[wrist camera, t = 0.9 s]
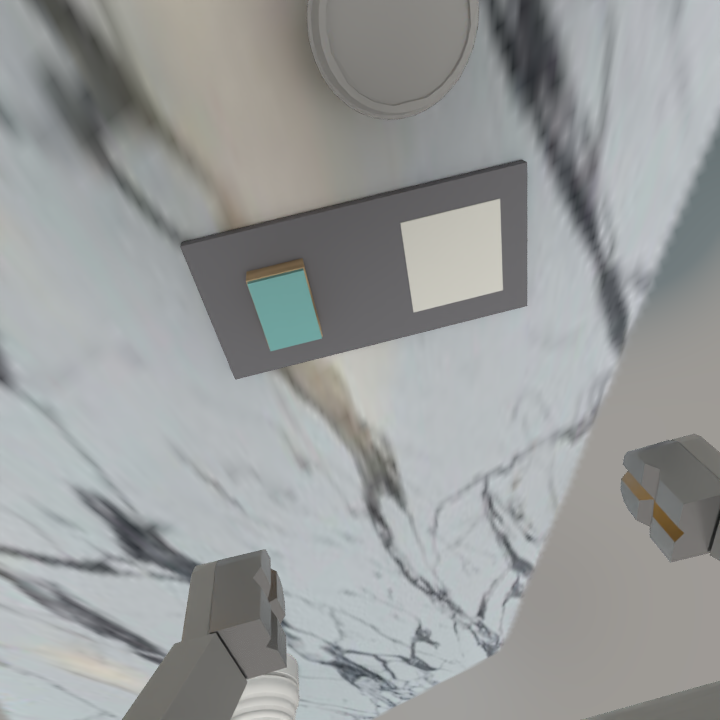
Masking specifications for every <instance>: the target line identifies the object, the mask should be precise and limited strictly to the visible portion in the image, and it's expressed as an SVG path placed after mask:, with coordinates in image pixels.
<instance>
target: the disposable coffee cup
mask: <svg viewBox="0 0 720 720" xmlns="http://www.w3.org/2000/svg"><path fill="white" fill-rule="evenodd" d="M478 16H479V4H478V0H308V6H307V26H308V35H309V42H310V46H311V49H312V53H313V56H314V60H315V62H316V64H317V67H318V69H319V71H320V73H321V75H322V77H323V79H324V80H325V82H326V83H327V85H328V86H329V87H330V89H331V90H332V91H333V92H334V94H335V95H336V96H337V97H339V98H340V99H341V100H342V101H343V102H344V103H345V104H346V105H348V106H349V107H351V108H353V109H354V110H356V111H358V112H359V113H362V114H365V115H367V116H370V117H373V118H378V119H388V120H392V119H402V118H406V117H410V116H414V115H416V114H419V113H421V112H423V111H425V110H427V109H428V108H430V107H431V106H433V105H435V104H436V103H437V102H438V101H440V100H441V99H442V98H443V97H444V96H445V95H446V94H447V93H448V92H449V91H450V90H451V89H452V87H453V86H454V85H455V83H456V82H457V81H458V79H459V78H460V76H461V74H462V72H463V71H464V69H465V67H466V65H467V63H468V60H469V58H470V55H471V52H472V50H473V47H474V42H475V38H476V33H477V29H478Z"/></svg>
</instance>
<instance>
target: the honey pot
mask: <svg viewBox="0 0 720 720" xmlns="http://www.w3.org/2000/svg"><path fill="white" fill-rule="evenodd" d="M286 655H287V668H283V669H280V670H277V671H274V672H270V673H267V674H264V675H261V676H257V677H254V678H251V679H247V682H248V683H247V685H246V687H245V689H244V691H243V694H242V696H241V698H240V700H239V702H238V704H237V707H236V709H235V711H234V713H233V715H232V718H231V720H294V719H295V715H296V709H297V707H298V704H299V697H300V696H299V678H298V664H297V661H296V659H295V658H294V657H293V656H292V655H290V654H288V653H286Z"/></svg>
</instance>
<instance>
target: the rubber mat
mask: <svg viewBox="0 0 720 720" xmlns="http://www.w3.org/2000/svg"><path fill="white" fill-rule="evenodd" d="M180 247H181V250H182V252H183V254H184V257H185V259H186V262H187V264H188V266H189V269H190V271H191V274H192V276H193V279H194V281H195V283H196V286H197V288H198V291H199V293H200V295H201V298H202V300H203V303H204V305H205V307H206V310H207V312H208V315H209V317H210V320H211V322H212V324H213V327H214V329H215V332H216V334H217V336H218V339H219V341H220V344H221V346H222V349H223V351H224V353H225V356H226V358H227V361H228V363H229V365H230V368H231V370H232V373H233V375H234V378H235V379H239V378H243V377H247V376H251V375H255V374H259V373H263V372H267V371H271V370H275V369H279V368H283V367H287V366H291V365H295V364H299V363H303V362H307V361H311V360H315V359H319V358H323V357H326V356H330V355H334V354H338V353H342V352H346V351H350V350H354V349H358V348H362V347H366V346H370V345H374V344H378V343H382V342H386V341H390V340H394V339H398V338H402V337H406V336H410V335H414V334H418V333H422V332H426V331H430V330H434V329H437V328H441V327H445V326H449V325H453V324H457V323H461V322H465V321H469V320H473V319H477V318H481V317H485V316H489V315H493V314H497V313H501V312H505V311H509V310H513V309H517V308H521V307H525V306H527V162H525V161H523V160H520V161H516V162H512V163H507V164H503V165H499V166H495V167H491V168H487V169H483V170H479V171H474V172H470V173H466V174H462V175H458V176H454V177H450V178H446V179H441V180H437V181H433V182H429V183H425V184H421V185H417V186H413V187H408V188H404V189H400V190H396V191H392V192H388V193H384V194H380V195H376V196H371V197H367V198H363V199H359V200H355V201H351V202H347V203H343V204H338V205H334V206H330V207H326V208H322V209H318V210H314V211H310V212H305V213H301V214H297V215H293V216H289V217H285V218H281V219H277V220H272V221H268V222H264V223H260V224H256V225H252V226H248V227H244V228H239V229H235V230H231V231H227V232H223V233H219V234H215V235H211V236H207V237H202V238H198V239H194V240H190V241H186V242H182V243H181V246H180ZM301 258H302V259H303V262H304V266H305V270H306V273H307V277H308V281H309V285H310V288H311V292H312V296H313V299H314V303H315V307H316V310H317V314H318V318H319V321H320V325H321V330H322V334H323V336H322V339H318V340H314V341H310V342H306V343H302V344H298V345H294V346H290V347H286V348H282V349H278V350H274V351H270V349H269V346H268V343H267V340H266V337H265V334H264V332H263V329H262V326H261V323H260V320H259V317H258V314H257V312H256V309H255V306H254V303H253V300H252V297H251V294H250V292H249V289H248V286H247V283H246V272H248V271H252V270H256V269H260V268H264V267H268V266H272V265H276V264H281V263H285V262H289V261H293V260H297V259H301Z"/></svg>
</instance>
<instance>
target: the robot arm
mask: <svg viewBox="0 0 720 720" xmlns="http://www.w3.org/2000/svg"><path fill="white" fill-rule="evenodd" d="M623 465H624V466H625V467H626V469H627V470H628V471H627V473H626V474H625V475H624V476H623V478H622V479H621V493H622V496H623V499H624V502H625V504H626V506H627V508H628V510H629V511H630V512H631V514H632V515H633V516H634V518H635V519H636V520H637V521H639V522H641V523H643V524H646V525H648V526H650V538H651V539H652V540H653V541H654V543H655V544H656V545H657V546H658V548H659V549H660V550H661V551H662V553H663V554H664V555H665V556H666V557H667V559H668V560H669V561H670V562H674V561H678V560H682V559H687V558H691V557H695V556H699V555H703V554H707V553H710V556H712V557H714V558H716V559H717V560H719V561H720V452H719V451H717V450H716V449H715V448H714V447H713V446H712V445H710V444H709V443H708V442H707V441H706V440H705V439H703V438H702V437H701V436H699V435H696V434H692V435H688V436H684V437H680V438H677V439H673V440H668V441H664V442H660V443H657V444H654V445H650V446H646V447H643V448H639V449H635V450H632V451H628V452H627V453H626V455H625V456H624V462H623ZM284 617H285V600H284V594H283V588H282V585H281V581H280V578H279V576H278V574H277V571H275V570H273V569H271V560H270V557H269V555H268V553H267V551H266V549H265V550H259V551H255V552H251V553H247V554H243V555H239V556H234V557H230V558H226V559H222V560H218V561H214V562H210V563H206V564H202V565H198V566H195V568H194V570H193V573H192V575H191V582H190V588H189V595H188V602H187V608H186V615H185V621H184V628H183V635H182V641H181V642H179V643H176V644H174V645H173V647H172V648H171V650H170V651H169V652H168V654H167V655H166V657H165V658H164V660H163V661H162V663H161V664H160V665H159V667H158V668H157V670H156V671H155V673H154V674H153V676H152V677H151V678H150V680H149V681H148V683H147V684H146V686H145V687H144V689H143V690H142V691H141V693H140V694H139V696H138V697H137V699H136V700H135V702H134V703H133V704H132V706H131V707H130V709H129V710H128V712H127V713H126V715H125V716H124V717H123V719H122V720H231V718H232V715H233V713H234V711H235V709H236V707H237V704H238V702H239V700H240V698H241V696H242V694H243V691H244V689H245V687H246V685H247V683H248V682H247V679H251V678H254V677H257V676H261V675H264V674H267V673H270V672H274V671H277V670H280V669H283V668H287V655H286V635H285V633H284V631H283V629H282V627H281V625H280V624H281V622H282V620H283V618H284ZM583 720H720V681H718V682H714V683H711V684H707V685H703V686H700V687H696V688H693V689H689V690H685V691H682V692H678V693H675V694H671V695H668V696H664V697H661V698H657V699H654V700H650V701H646V702H643V703H639V704H636V705H633V706H629V707H625V708H622V709H618V710H614V711H611V712H607V713H604V714H601V715H597V716H593V717H590V718H586V719H583Z"/></svg>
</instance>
